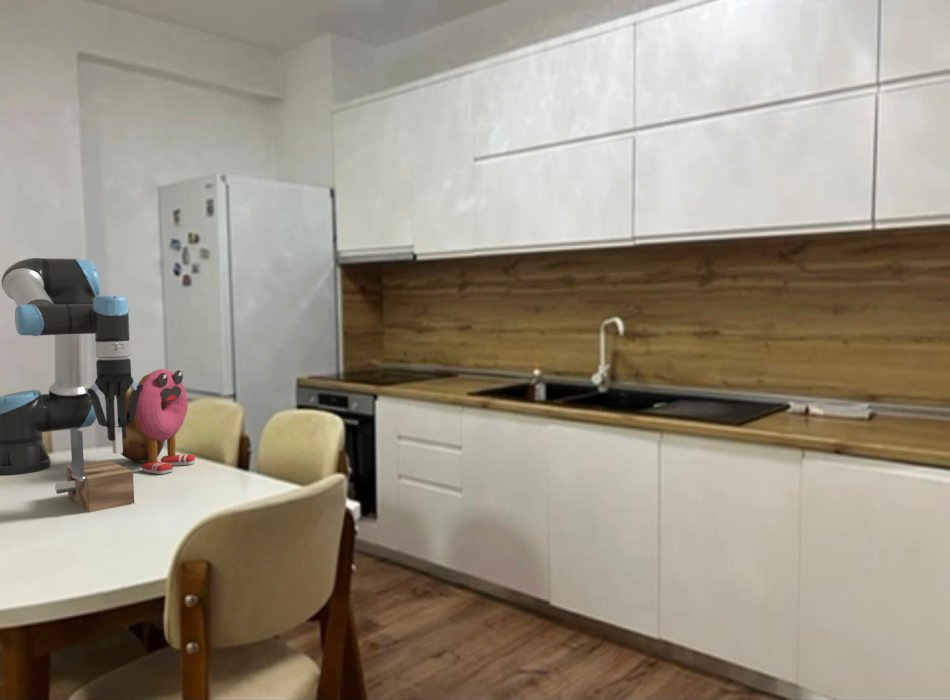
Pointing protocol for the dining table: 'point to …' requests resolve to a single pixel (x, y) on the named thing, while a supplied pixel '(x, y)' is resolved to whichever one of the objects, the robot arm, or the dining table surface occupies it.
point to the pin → (65, 487)
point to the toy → (162, 417)
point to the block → (102, 486)
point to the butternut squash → (136, 441)
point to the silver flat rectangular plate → (77, 454)
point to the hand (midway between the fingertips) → (117, 452)
